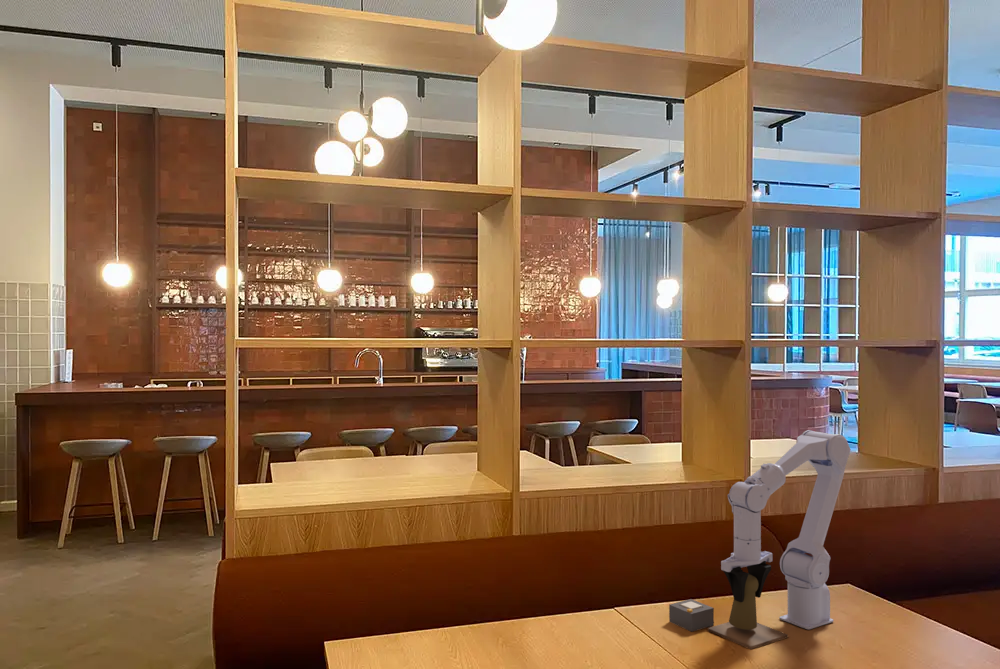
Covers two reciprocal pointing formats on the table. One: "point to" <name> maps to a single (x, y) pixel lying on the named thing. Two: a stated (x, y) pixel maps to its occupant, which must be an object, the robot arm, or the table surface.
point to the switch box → (691, 616)
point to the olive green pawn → (745, 607)
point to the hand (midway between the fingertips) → (747, 598)
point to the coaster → (748, 635)
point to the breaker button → (691, 605)
